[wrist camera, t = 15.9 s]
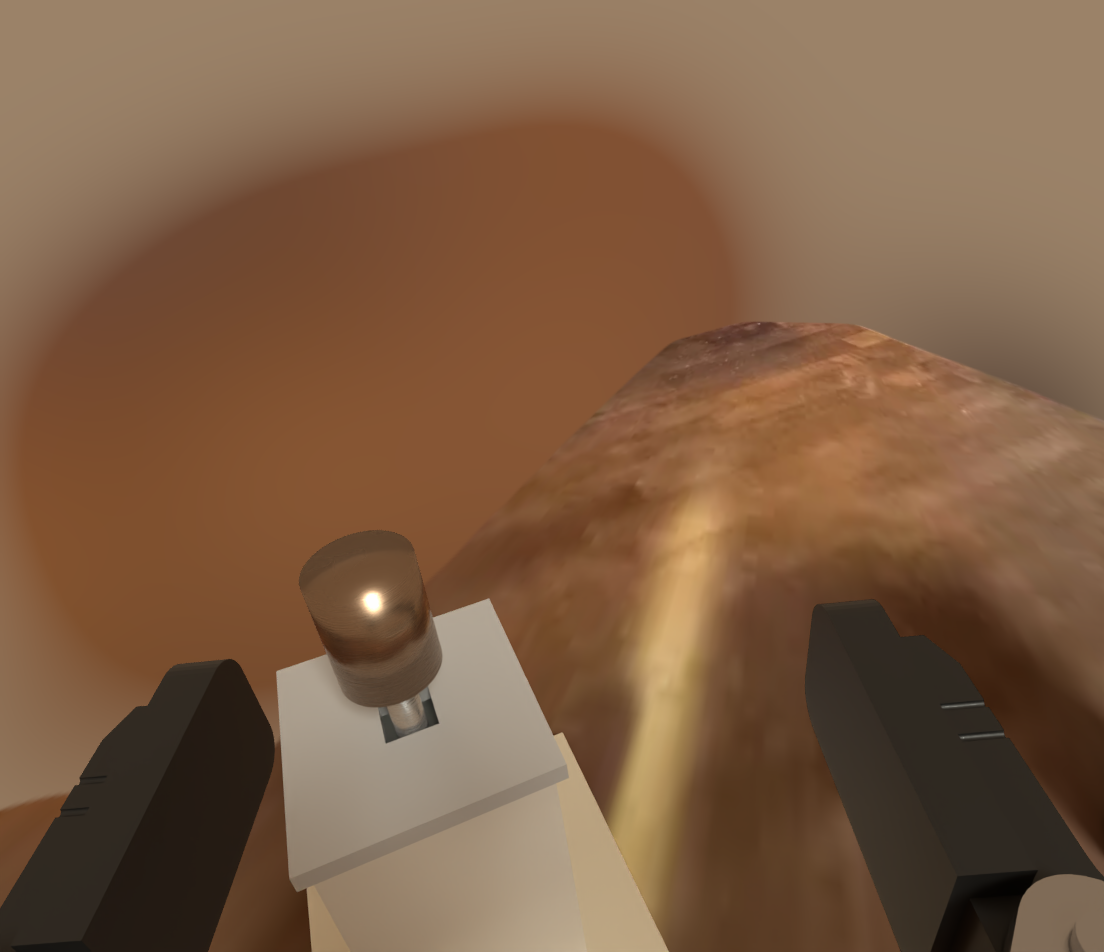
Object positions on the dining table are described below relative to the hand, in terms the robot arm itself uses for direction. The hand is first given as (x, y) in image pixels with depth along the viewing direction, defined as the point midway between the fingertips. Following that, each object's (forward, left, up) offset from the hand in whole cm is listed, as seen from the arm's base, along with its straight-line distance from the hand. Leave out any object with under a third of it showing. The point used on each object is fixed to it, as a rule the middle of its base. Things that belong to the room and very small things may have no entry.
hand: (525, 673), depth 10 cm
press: (+3, -18, -40) cm, 44 cm away
